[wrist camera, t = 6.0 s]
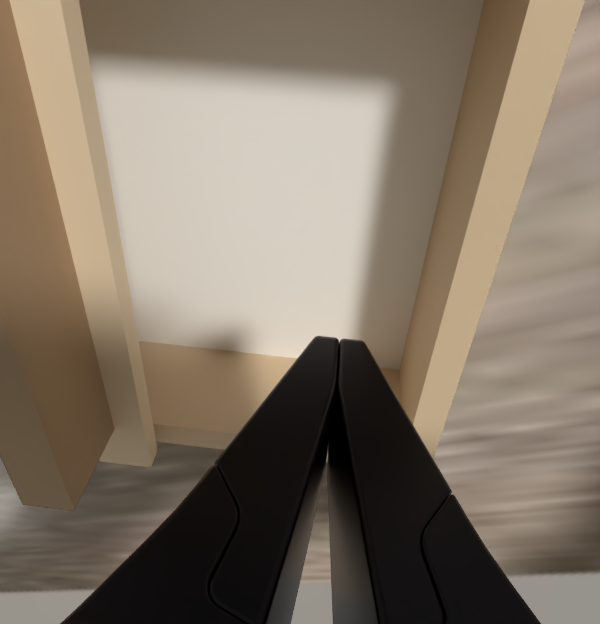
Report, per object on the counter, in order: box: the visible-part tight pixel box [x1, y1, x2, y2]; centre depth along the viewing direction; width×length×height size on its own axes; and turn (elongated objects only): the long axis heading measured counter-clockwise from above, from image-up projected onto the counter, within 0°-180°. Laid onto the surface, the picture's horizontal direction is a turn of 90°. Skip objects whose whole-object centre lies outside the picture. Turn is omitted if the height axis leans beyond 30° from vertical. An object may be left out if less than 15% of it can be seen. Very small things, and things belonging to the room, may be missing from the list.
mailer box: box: [79, 0, 585, 462], centre depth 13 cm, size 14×13×4 cm
